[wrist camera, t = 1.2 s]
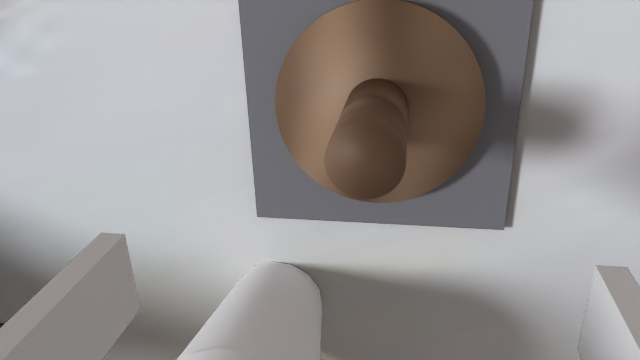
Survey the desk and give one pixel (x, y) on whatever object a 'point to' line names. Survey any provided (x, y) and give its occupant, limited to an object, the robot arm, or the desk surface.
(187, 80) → the desk surface
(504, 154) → the mat
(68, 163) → the desk surface
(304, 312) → the foam cup
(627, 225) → the desk surface
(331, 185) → the lid
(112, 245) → the robot arm
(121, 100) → the desk surface
